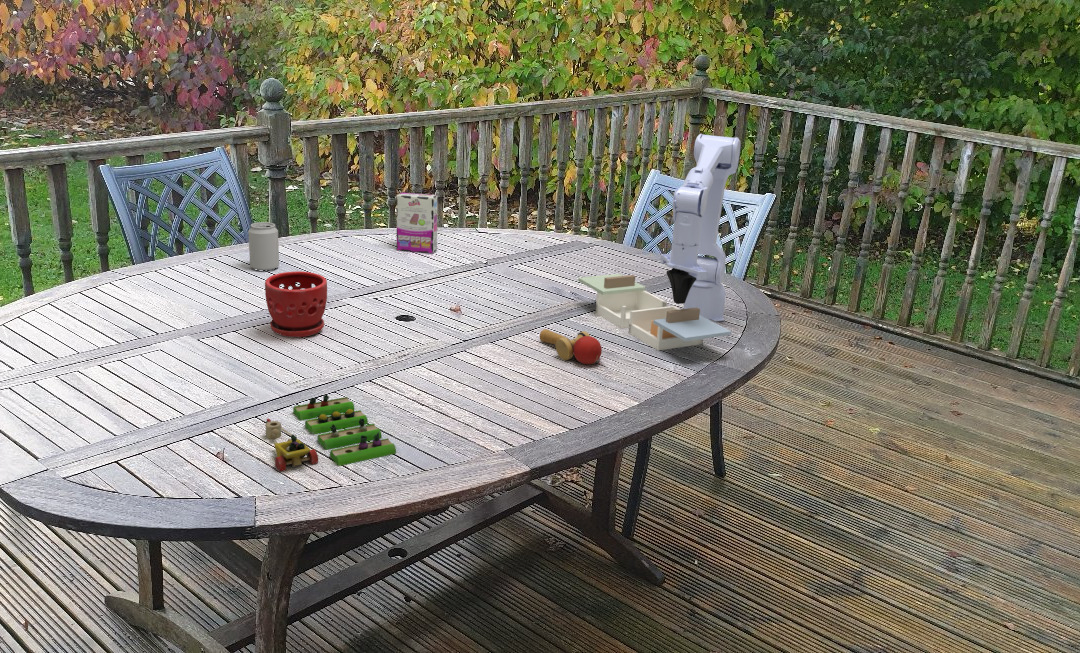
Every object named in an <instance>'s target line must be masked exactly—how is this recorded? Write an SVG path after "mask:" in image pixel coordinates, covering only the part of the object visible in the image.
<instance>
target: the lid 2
mask: <svg viewBox="0 0 1080 653" xmlns="http://www.w3.org/2000/svg"><path fill="white" fill-rule="evenodd" d="M679 309H680V310H672V311H667V314H666V318H665V319H657V320H653V324H655V325H657V326H659V327H660V328H662V329H664V330H666V331H668V332H669V333H671V334H673V335H675V336H676V337H678V338H680V339H682V340H683V341H692V340H699V339H703V340H706V339H711V338H719V337H726V336H732V330H730V329H727V328H726V327H724V326H722V325H720V324H718V323H716V322H715V321H713V320H711V319H710V320H708V319H706V318H704V317H702V316H701V315H699V314H700V309H699V308H697V307H696V308H688V309H683V308H679Z"/></svg>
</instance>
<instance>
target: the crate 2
mask: <svg viewBox="0 0 1080 653" xmlns="http://www.w3.org/2000/svg"><path fill="white" fill-rule="evenodd" d="M680 309H681V308H679V307H677V306H675V305H669V306H666V307H660V308H651V309H643V310H635V311H630V322H629V328H628V334H630V335H632V337H635V338H637V339H638V340H640V341H641V342H643V343H645V344H646V345H649V346H650V347H651V348H653V349H654V350H656V351H663V350H671V349H677V348H684V347H691V346H698V345H703V342H704V339H699V340H692V341H683V340H682V339H680V338H678V337H672V338H664V339H662V334H663V329H662V328H660V327H658V332H657V337H655V336H654V335H652V334H650V332H651V321H652V320H657V319H665V318H666V314H667V311H672V310H680Z"/></svg>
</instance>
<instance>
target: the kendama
mask: <svg viewBox="0 0 1080 653" xmlns="http://www.w3.org/2000/svg"><path fill="white" fill-rule="evenodd" d="M539 340H540V341H541V342H542V343H546V344H551V345H555V350H556V353H557V355H558V356H559V357H560V359H562V360H564V361H568V360H571V359H572V358H573V356H574V358H575V359H576V360H577V361H578V362H579V363H581V364H582V365H593V364H595V363H596V362H597V361H598V360H600V358H601V355H602V352H603V349H602V344H601V343H600V341H599V340H598V339H597V338H595V337H593V336H591V335H590V334H589V332H587V331H585V330H583V331H580V332H578V333H577V335H576V337H575V338H572V339H569V338H568V337H566V336H563V335H562V334H559V333H556V332H554V331H551V330H549V329H547V328H545V329H542V330H541V331H540V333H539Z"/></svg>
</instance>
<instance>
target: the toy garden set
mask: <svg viewBox="0 0 1080 653" xmlns="http://www.w3.org/2000/svg"><path fill="white" fill-rule="evenodd" d="M322 398H323V399H322V401H318V402H317V398H316V397H312V398H310V399H309V402H308V403H305V404H299V405H294V406H293V407H292V408H293V410H292V412H293V414H294V415H295V416H296V417H297V419H298V420H299V421H304V427H305V428H306V429H307V430H308V431H309V432H310V433H311V435H312V436H315V435H317V438H316V439H317V442H318V443H319V444H320V445H321V446H322V447H323V449H324V450H325V451H328V450H330V451H329V456H330V458H331V459H332V460H333V462H335V464H336V465H337V466H338V467H340V466H341V467H342V466H345V465H350V464H354V463H359V462H364V461H368V460H372V459H378V458H383V457H386V456H390V455H396V454H397V447H396V445H395V443H394V442H393V443H392V442H391V441H390V439H389V438H383V439H382V432H381V429H380V428H378V427H377V426H376V424H375V423H371V424H368V423H369V422H368V421H369V420H368V417H367V415H366V414H364V412H362V409H359V410H355V405H354V402H353V401H351V400H350V399H349V397H348V396H344V397H340V398H334V399H329V398H330V396H329V395H328V394H327V393H326V394H324V395H323V397H322ZM282 432H284V433H286V434H288V435H289V436H290V438H288V439H287V441H286V440H285V441H282V442H278V441H275V440H278V439H280V438H281V437H282ZM265 438H266V439H269V440H274V441H273V446H274V449H275V454H276V457H274V458H275V459H274V465H275V467H276V469H277V470H278V472H284V471H286V470H287V465H291V466H292V467H299V466H302V465H303V464H302V462H306V461H308V462H309V464H311V465H316V464H318V463H319V456H318V452H317V450H316V449H311V448H310V447H309V446H307V445H306V444H305V443H303V442H302V441H301V440H300V439H298V438H297V436H296V435H295V434H293V433H290V432H289V431H287V430H286V429H285V428H283V427H282V422H280V421H277V420H273V421H272V419H270V418H266V423H265Z"/></svg>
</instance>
